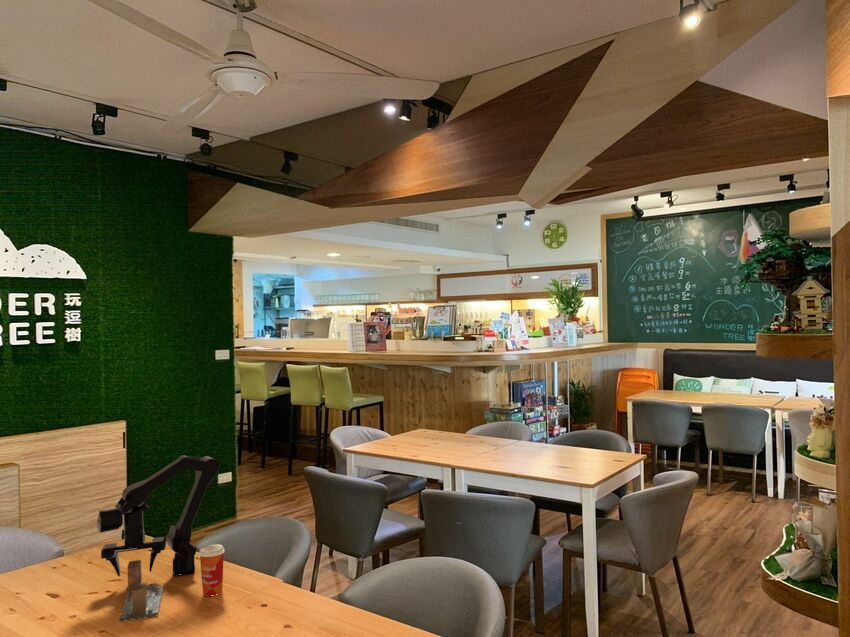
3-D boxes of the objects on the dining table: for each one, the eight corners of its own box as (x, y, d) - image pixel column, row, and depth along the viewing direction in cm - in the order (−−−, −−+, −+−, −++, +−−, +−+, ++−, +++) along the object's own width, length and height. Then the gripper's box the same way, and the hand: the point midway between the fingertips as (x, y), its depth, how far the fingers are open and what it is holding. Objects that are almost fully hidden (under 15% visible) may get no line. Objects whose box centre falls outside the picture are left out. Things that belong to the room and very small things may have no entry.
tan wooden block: (141, 580, 203) (141, 559, 203) (139, 587, 197) (139, 565, 197) (129, 582, 201) (129, 561, 202) (127, 589, 196) (127, 567, 196)
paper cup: (194, 595, 190) (193, 550, 190) (213, 586, 197) (212, 542, 197) (212, 600, 186) (211, 554, 186) (231, 590, 193) (230, 545, 193)
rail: (163, 588, 196) (162, 563, 196) (158, 615, 177) (157, 587, 177) (128, 593, 193) (128, 568, 193) (119, 622, 174) (119, 593, 174)
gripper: (166, 515, 211) (167, 560, 210) (105, 522, 204) (107, 569, 204) (164, 524, 200) (165, 572, 200) (100, 532, 194) (101, 582, 194)
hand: (135, 573), depth 200 cm, fingers open, 9 cm apart
